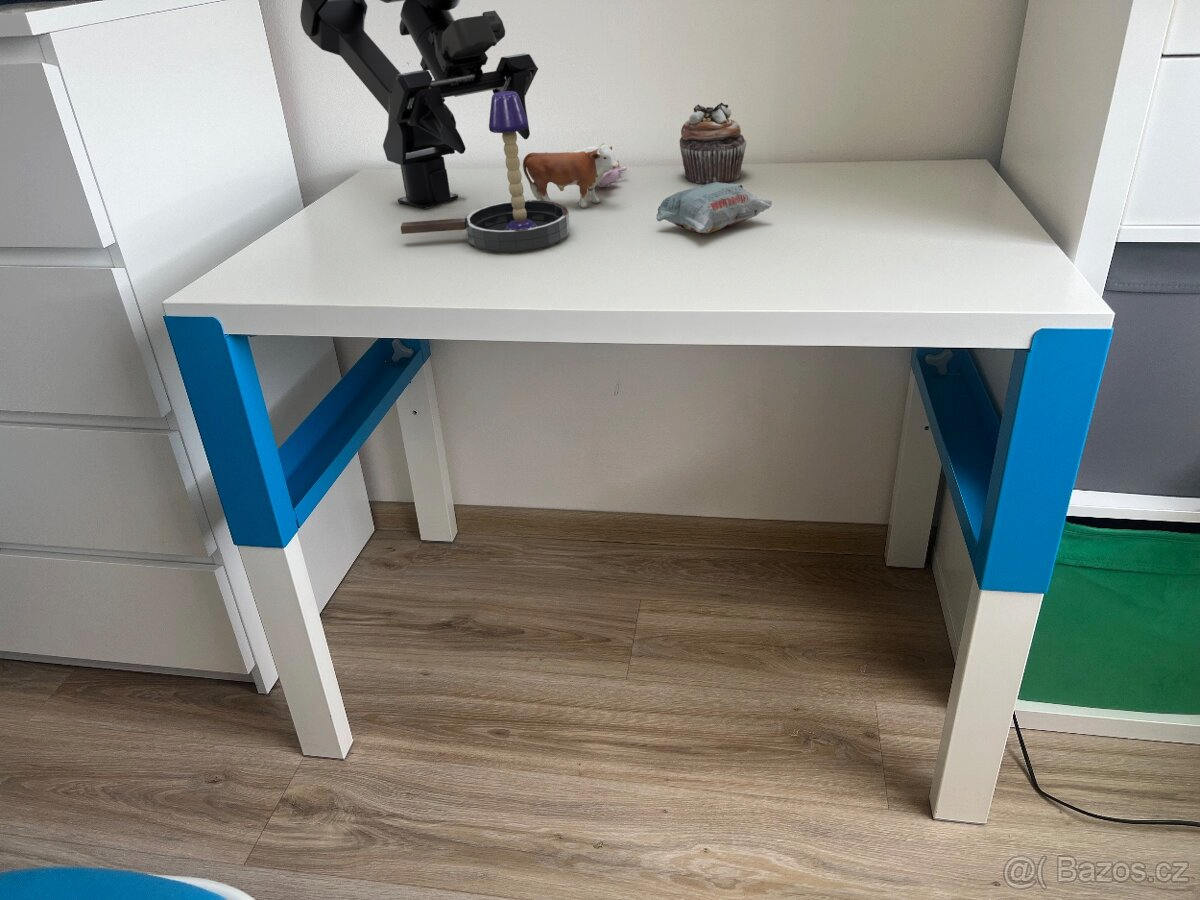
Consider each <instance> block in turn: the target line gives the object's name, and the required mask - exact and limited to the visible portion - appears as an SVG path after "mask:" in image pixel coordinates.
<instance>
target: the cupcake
mask: <svg viewBox="0 0 1200 900" xmlns="http://www.w3.org/2000/svg"><path fill="white" fill-rule="evenodd" d="M731 115H732V111H731V109H730V108H729V104H724V103H723V102H720V103H718V104H717V105H716V106H715V107H711V106H707V107H704V106H702V105H700V104H697V105H695V106H694V108H693V112H692V113H691V114H690V115H689V118H688V120H686V121H685V122H684V123H683V124H682V127H681V128H680V135H681V136H680V138H679V149H680V155H681V159H682V165H683V169H684V175H685V179H686V180H687V181H689V182H691V183H694V184H695V183H696V184H701V185H706V184H710V183H715V182H719V183H731V182H734V181H737V180H738V179H740V177H741V176H740V175H741V171H742V165H743V161H744V157H745V152H746V148H747V143H748V142H747V139H745V138H744V135H743V134H742V133H741V132H742V130H741V129H742V128H741V126H740V124H739V122H737V121H736V120H733V119H730V117H731Z"/></svg>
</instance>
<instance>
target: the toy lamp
mask: <svg viewBox="0 0 1200 900" xmlns="http://www.w3.org/2000/svg"><path fill="white" fill-rule="evenodd" d="M527 118H528V117H527ZM527 118H526V115H525V112H524V109H523V107H522V104H521V101H520V99H519V96H518V94H517V93H516V92H514V91H505V92H498V93H495V94H494V93H493V94H492V96H491V100H490V110H489V121H488V130H489V132H490V133H493V134H501V138H502V141H503V143H504V146H503V152H504V156H505V157H506V158H505V167H506V169H507V172H506V174H507V175H506V177H507V181H508V183H509V185H508V191H509V194H510V201H511V204H512V207H513V217H514V219H515V220H512V221H511V222H510V223H508V225H507V227H506V229H505V230H521V229H529V228H534V227H537V226H536V224H535V223H534V222H533V221H531V220H529V219H526V217H527V212H526V209H525V208H524V206H525V200H526V199H525V196H524V195H523V194H524V185H523V182H522V180H523V179H522V178H523V176H522V172H521V170H520V166H521V162H520V158H519V156H518V155H519V146H518V144H517V141H518V135H517V133H518V132H517V131H521V130H524V129H526V128H528V125H529V120H528V121H527Z"/></svg>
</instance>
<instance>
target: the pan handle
mask: <svg viewBox="0 0 1200 900" xmlns="http://www.w3.org/2000/svg"><path fill="white" fill-rule="evenodd" d="M465 218H466V217H461V218H445V219H433V220H432V219H431V220H419V221H418V220H417V221H403V222H402V223H401V224H400V232H401V234H402V235H406V234H407V235H408V234H409V235H410V234H421V233H423V234H424V233H435V232H449V231H462V230H465V231H466V224H465Z"/></svg>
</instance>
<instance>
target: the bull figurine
mask: <svg viewBox="0 0 1200 900" xmlns="http://www.w3.org/2000/svg"><path fill="white" fill-rule="evenodd" d="M601 145H602V144H601ZM601 145H600V146H601ZM600 146H599V147H598V146H593V145H591V146H588V147H586V148H583V149H578V150H574V151H566V152H529V153H527V154H526V155H525V157H524V158H523V161H522V170H523V173H524V176H525V177H526V179H527V181H528V183H529V187H530V191H531V193H532V195H533V197H534V198H535V200H537V201H548V202H553V200H552V199H551V198H550V197H549V194H548V185H549V183H552V184H554V185H556V187H557V188H558V189H559V191H560V192H563V191H564V190H565V187H567V186H574V185H575V186H579V195H580V197H579V201H578V203H577V204H578V206H580V207H581V208H582V209H587V208H589V205H588V203H587V202H586V196H587V194H588V192H589V195H590V202H593V204H599V203H601V199H599V198H598V196H597V194H596V192H595V189H596V188H595V187H596V186H598V183H599V182H600V181H601V180H602V178H603V176H604V173H607V172H609V171H610V170H615V169H617V168H618V167H619V164H620V162H619V163H618V162H616V161H617V160H616V158H615V157H616V156H615V153H614V151H613V146H612V145H610V146H609V145H608V144H605V145H602V146H601V147H600ZM531 179H532V180H533V181H532V180H531Z"/></svg>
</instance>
